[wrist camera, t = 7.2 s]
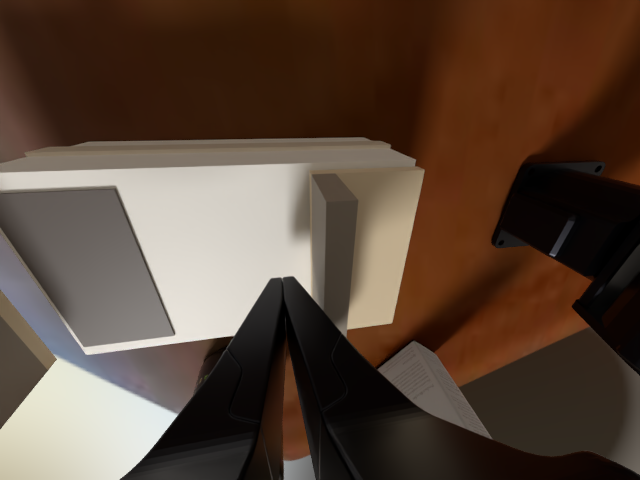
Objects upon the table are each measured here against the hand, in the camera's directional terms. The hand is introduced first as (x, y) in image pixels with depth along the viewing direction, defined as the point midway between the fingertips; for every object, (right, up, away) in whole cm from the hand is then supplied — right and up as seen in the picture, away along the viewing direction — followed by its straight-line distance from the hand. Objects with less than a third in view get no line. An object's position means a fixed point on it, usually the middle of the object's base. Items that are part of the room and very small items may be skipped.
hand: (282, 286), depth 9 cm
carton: (-3, +4, +6) cm, 8 cm away
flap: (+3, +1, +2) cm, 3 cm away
